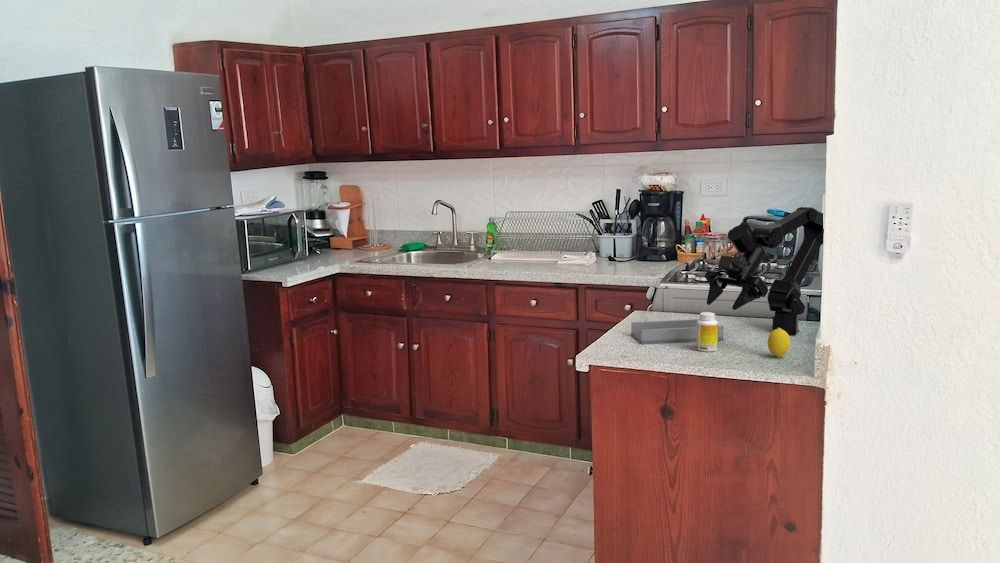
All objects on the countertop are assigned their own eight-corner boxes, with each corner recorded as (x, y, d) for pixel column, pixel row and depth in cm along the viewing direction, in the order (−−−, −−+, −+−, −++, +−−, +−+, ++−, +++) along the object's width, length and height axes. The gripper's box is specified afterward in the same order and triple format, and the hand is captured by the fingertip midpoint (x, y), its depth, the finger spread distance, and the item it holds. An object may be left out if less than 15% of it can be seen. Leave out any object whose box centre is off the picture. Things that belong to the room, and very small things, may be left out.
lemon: (763, 355, 209) (764, 326, 208) (783, 354, 209) (784, 325, 208) (772, 360, 204) (773, 330, 202) (793, 359, 204) (794, 329, 203)
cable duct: (708, 331, 238) (709, 318, 237) (723, 340, 226) (723, 326, 226) (631, 335, 235) (631, 322, 235) (641, 344, 224) (641, 330, 224)
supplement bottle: (721, 351, 215) (722, 314, 213) (704, 353, 213) (704, 316, 211) (709, 346, 220) (710, 310, 218) (692, 348, 218) (693, 312, 216)
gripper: (709, 242, 225) (681, 284, 221) (762, 247, 209) (733, 293, 205) (727, 266, 230) (700, 308, 226) (780, 274, 215) (752, 318, 211)
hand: (720, 306), depth 217 cm, fingers open, 9 cm apart
